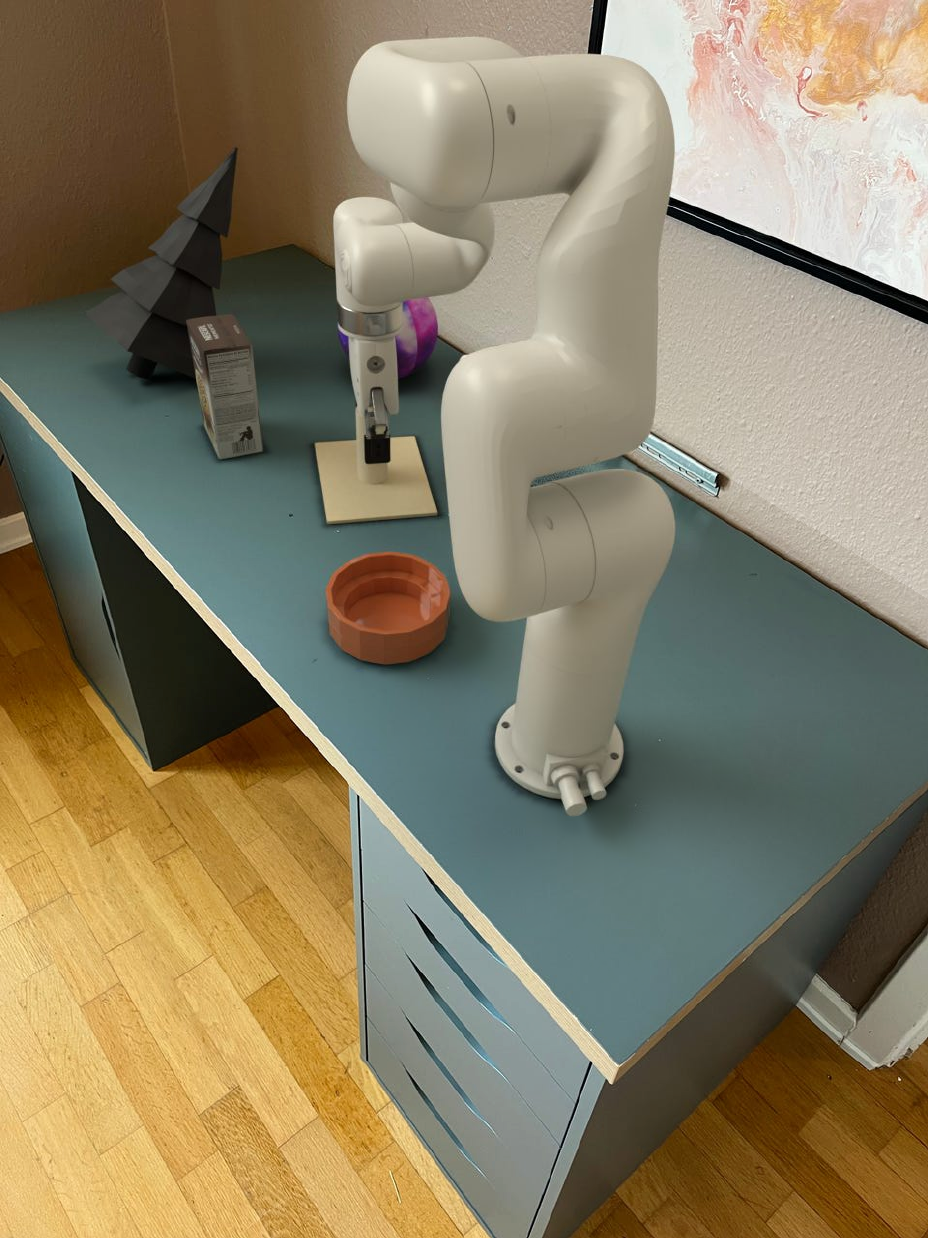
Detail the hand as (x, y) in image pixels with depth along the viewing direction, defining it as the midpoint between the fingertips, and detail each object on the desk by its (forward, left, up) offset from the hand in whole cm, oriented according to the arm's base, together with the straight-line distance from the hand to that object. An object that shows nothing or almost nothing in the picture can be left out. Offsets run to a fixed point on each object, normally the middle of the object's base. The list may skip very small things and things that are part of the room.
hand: (372, 442), depth 119 cm
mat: (0, 0, -6) cm, 6 cm away
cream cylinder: (0, 0, -5) cm, 5 cm away
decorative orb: (+28, -6, -6) cm, 29 cm away
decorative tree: (+34, +24, -6) cm, 42 cm away
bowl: (-28, +2, -6) cm, 29 cm away
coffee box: (+12, +18, -6) cm, 22 cm away
